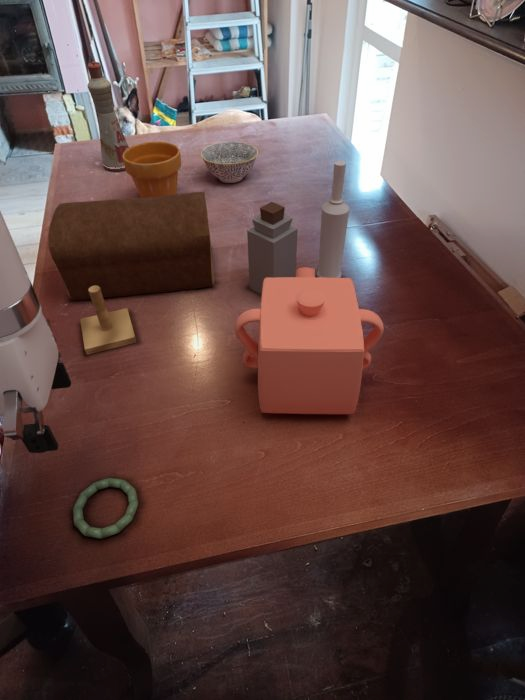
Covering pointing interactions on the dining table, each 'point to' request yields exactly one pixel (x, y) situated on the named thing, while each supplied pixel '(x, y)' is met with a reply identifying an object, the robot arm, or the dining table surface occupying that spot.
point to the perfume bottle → (271, 246)
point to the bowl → (229, 160)
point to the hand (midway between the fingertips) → (52, 416)
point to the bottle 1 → (107, 119)
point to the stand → (105, 326)
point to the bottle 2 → (333, 227)
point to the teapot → (309, 344)
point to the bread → (133, 245)
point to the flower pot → (153, 168)
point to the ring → (112, 529)
